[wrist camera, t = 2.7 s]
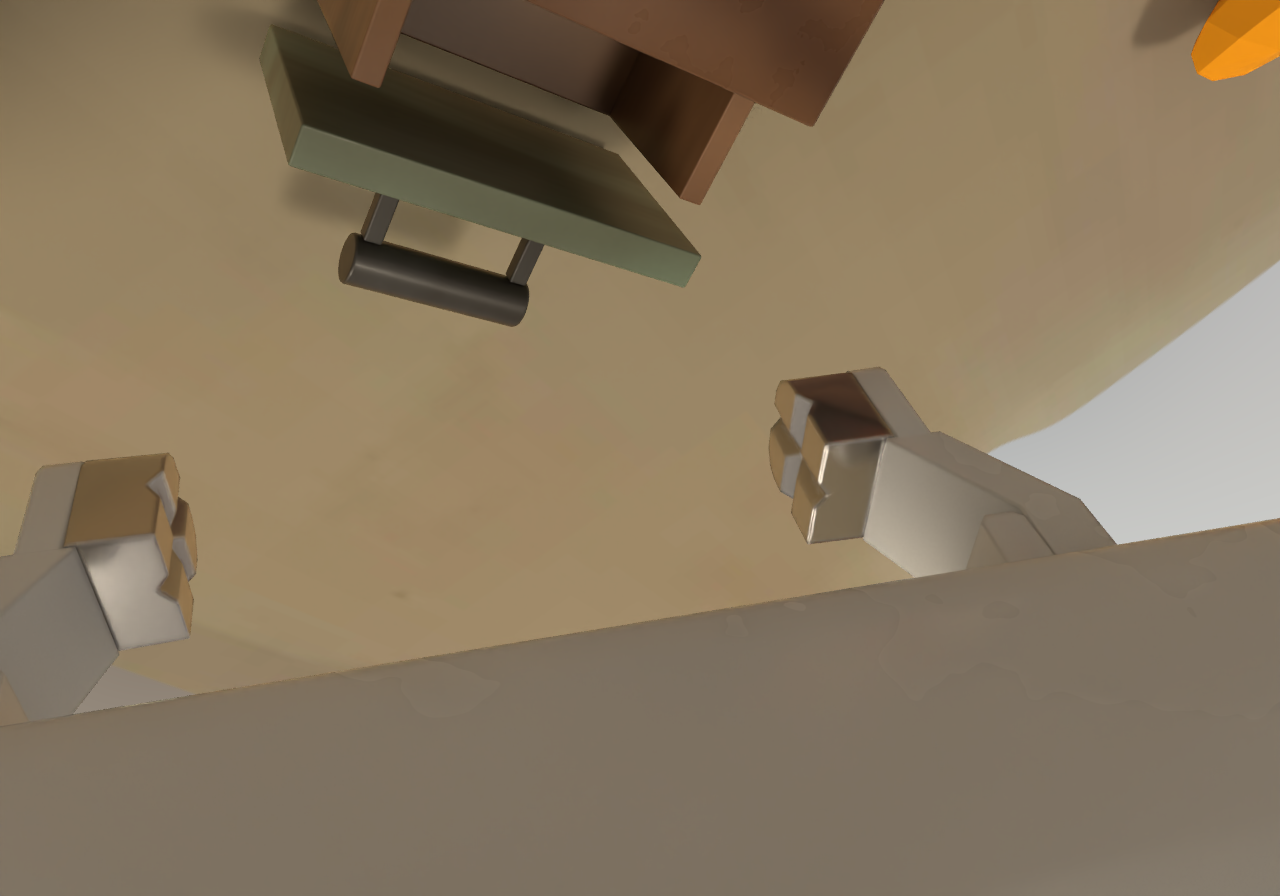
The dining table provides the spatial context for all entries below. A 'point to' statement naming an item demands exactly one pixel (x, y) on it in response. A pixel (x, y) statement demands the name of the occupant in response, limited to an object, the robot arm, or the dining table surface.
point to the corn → (1237, 38)
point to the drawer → (495, 144)
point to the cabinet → (740, 42)
